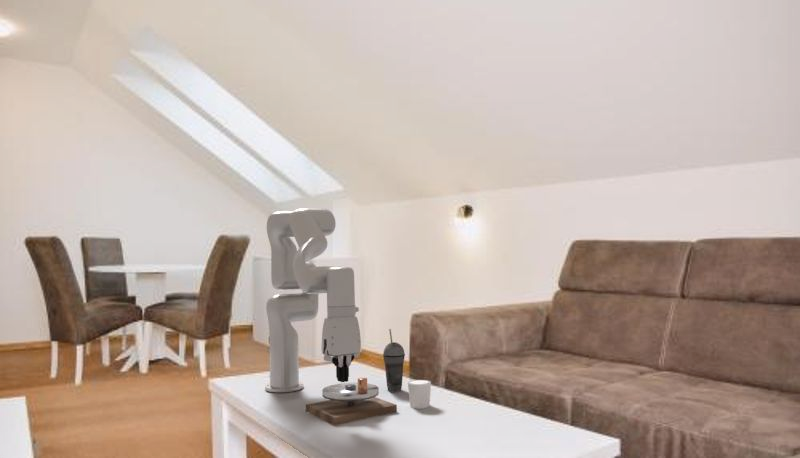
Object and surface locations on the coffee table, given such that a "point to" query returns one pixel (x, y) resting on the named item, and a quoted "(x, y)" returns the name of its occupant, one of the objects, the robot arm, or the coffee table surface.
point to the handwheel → (351, 391)
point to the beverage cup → (394, 365)
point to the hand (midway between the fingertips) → (342, 381)
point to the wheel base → (350, 410)
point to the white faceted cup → (419, 393)
